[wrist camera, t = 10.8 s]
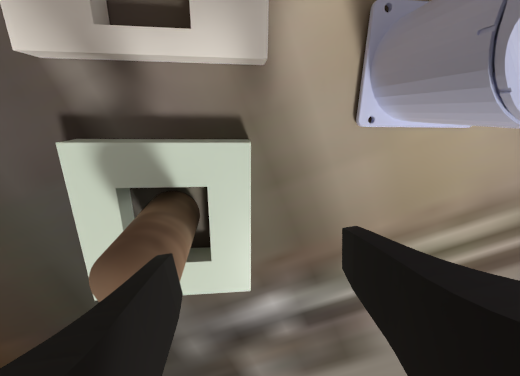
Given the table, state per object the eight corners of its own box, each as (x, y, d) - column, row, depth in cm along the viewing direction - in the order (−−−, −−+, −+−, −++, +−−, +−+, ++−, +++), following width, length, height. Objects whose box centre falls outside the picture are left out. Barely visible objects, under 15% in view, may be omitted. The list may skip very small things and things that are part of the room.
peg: (197, 189, 19) (172, 243, 11) (201, 235, 20) (182, 312, 12) (143, 191, 18) (79, 249, 11) (151, 238, 19) (99, 320, 12)
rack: (249, 139, 18) (250, 142, 16) (249, 275, 21) (250, 290, 20) (76, 138, 17) (55, 142, 15) (107, 282, 20) (94, 300, 18)
